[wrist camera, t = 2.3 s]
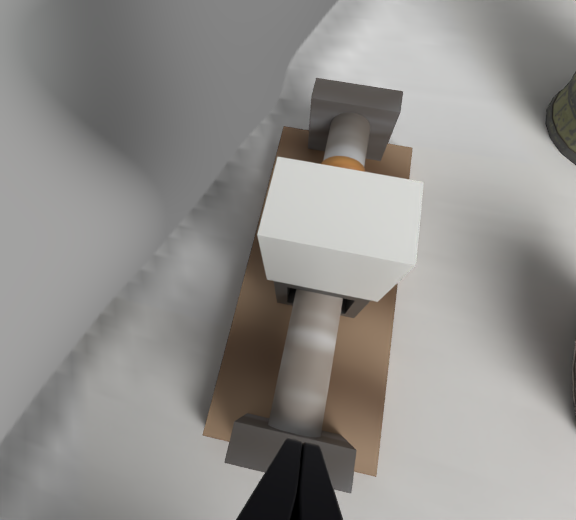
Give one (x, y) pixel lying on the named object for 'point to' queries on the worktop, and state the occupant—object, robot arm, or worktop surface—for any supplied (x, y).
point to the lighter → (574, 377)
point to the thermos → (564, 120)
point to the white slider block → (338, 232)
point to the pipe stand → (313, 319)
